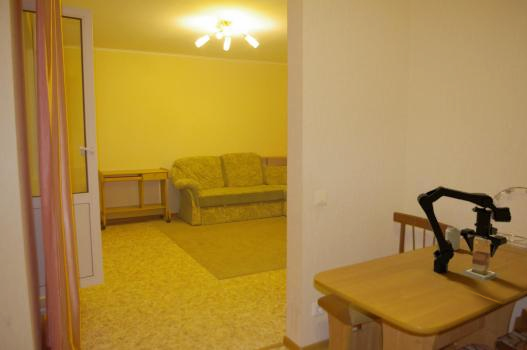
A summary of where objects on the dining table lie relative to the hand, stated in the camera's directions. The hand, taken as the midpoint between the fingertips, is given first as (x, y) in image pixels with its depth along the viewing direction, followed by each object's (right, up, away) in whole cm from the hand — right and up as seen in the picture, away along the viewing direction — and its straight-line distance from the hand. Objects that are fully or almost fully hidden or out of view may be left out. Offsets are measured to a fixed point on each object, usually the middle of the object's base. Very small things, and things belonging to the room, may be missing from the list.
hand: (481, 254), depth 177 cm
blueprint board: (0, -10, +1) cm, 10 cm away
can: (+6, -5, +39) cm, 40 cm away
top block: (0, -4, +1) cm, 4 cm away
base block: (0, -9, +1) cm, 9 cm away
